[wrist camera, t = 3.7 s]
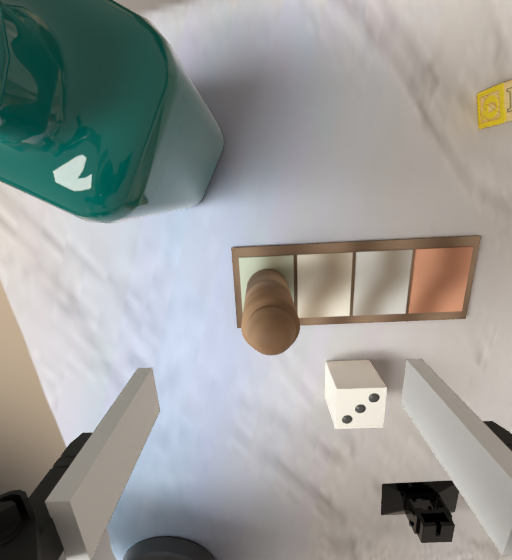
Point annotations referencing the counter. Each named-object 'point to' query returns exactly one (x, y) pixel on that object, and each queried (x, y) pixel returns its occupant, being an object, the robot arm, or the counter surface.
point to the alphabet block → (495, 105)
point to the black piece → (423, 507)
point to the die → (354, 394)
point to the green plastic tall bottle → (100, 112)
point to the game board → (367, 278)
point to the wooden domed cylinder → (269, 313)
